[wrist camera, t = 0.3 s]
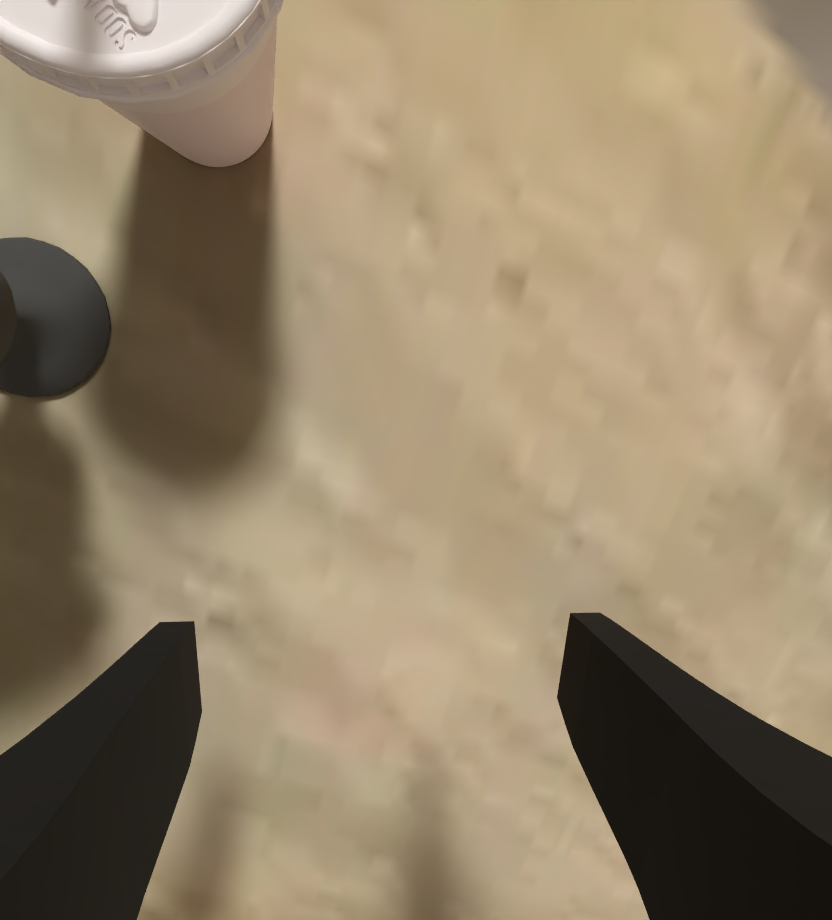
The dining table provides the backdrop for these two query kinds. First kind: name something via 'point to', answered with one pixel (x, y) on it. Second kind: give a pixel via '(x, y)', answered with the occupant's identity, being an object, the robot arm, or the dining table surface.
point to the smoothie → (158, 65)
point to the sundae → (48, 319)
